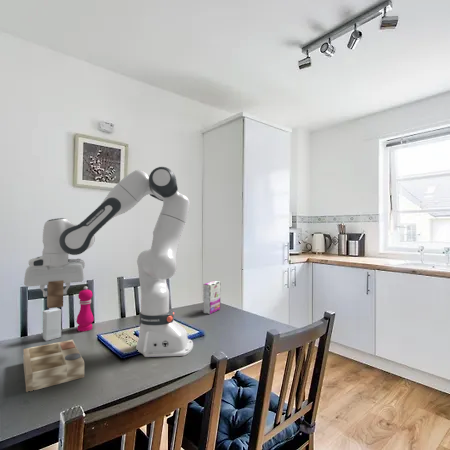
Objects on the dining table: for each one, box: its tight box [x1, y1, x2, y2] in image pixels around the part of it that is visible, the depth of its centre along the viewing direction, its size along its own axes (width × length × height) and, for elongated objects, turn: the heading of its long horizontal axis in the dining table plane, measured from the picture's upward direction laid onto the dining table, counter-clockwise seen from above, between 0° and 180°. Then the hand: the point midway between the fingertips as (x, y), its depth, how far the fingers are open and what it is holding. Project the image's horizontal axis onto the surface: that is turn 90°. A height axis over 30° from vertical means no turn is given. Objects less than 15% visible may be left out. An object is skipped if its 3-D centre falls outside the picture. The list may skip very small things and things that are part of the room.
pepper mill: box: [76, 285, 95, 332], centre depth 139 cm, size 7×7×20 cm
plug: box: [46, 281, 65, 309], centre depth 116 cm, size 5×5×11 cm
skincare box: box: [42, 307, 62, 341], centre depth 128 cm, size 6×4×12 cm
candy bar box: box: [202, 280, 221, 315], centre depth 171 cm, size 11×5×16 cm, turn 149°
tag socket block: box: [22, 339, 85, 393], centre depth 100 cm, size 16×22×5 cm
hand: (55, 295), depth 116 cm, fingers closed on plug, 5 cm apart
